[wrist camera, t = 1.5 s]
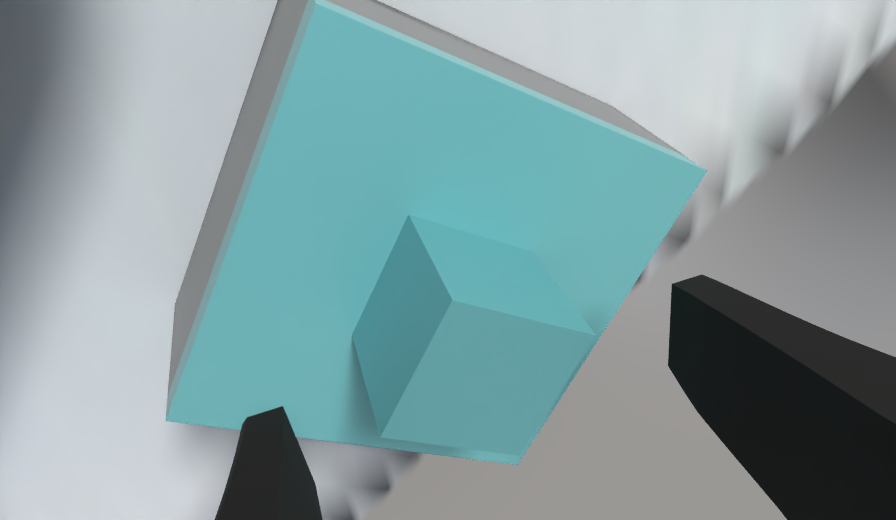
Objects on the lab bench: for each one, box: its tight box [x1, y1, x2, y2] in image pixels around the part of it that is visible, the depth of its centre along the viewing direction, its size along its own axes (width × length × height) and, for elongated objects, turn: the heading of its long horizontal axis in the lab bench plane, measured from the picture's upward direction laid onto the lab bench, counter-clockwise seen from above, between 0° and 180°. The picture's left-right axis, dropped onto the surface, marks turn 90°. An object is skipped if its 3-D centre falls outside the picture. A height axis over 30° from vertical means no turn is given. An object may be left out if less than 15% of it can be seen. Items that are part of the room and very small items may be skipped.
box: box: [168, 0, 685, 393], centre depth 17 cm, size 9×9×4 cm
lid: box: [166, 0, 707, 465], centre depth 14 cm, size 9×9×4 cm
